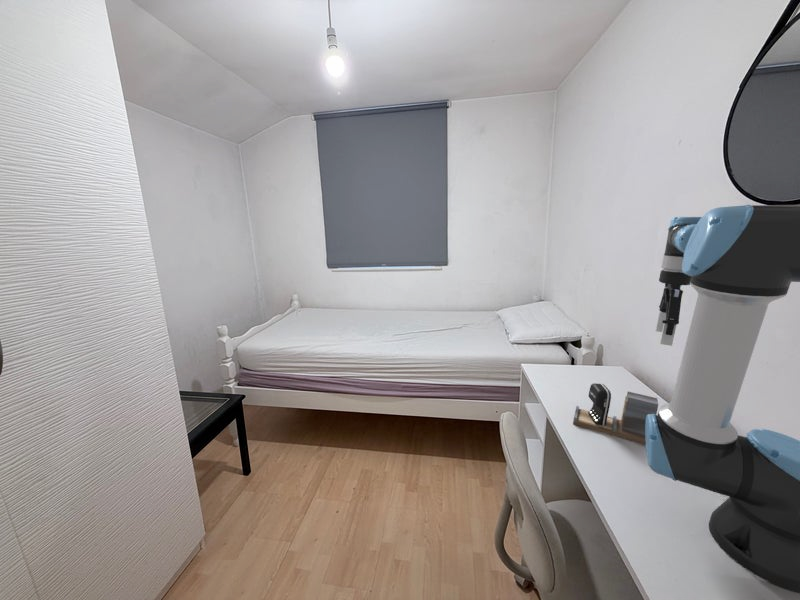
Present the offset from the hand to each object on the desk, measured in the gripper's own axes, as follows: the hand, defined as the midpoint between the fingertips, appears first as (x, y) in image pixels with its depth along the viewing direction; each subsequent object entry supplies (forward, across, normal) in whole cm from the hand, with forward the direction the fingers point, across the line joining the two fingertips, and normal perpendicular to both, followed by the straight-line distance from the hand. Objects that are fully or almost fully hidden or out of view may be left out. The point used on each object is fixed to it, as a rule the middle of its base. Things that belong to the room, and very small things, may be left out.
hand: (663, 337), depth 101 cm
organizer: (+27, -16, +10) cm, 33 cm away
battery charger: (+25, -16, +14) cm, 33 cm away
